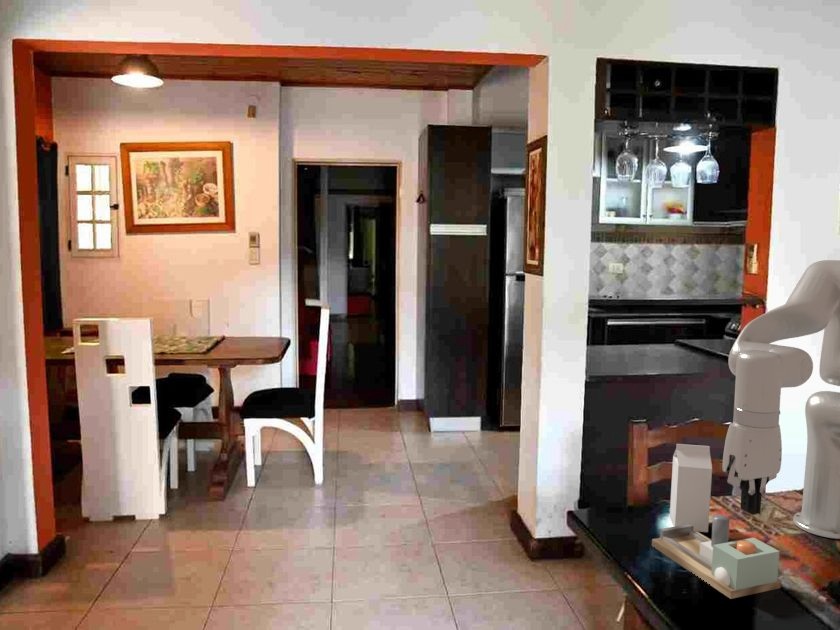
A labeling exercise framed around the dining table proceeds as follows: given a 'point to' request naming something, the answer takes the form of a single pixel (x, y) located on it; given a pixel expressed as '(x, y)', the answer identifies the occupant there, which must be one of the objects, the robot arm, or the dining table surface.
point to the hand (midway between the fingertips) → (750, 511)
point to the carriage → (715, 536)
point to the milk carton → (691, 486)
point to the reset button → (746, 547)
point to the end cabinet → (745, 565)
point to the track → (696, 557)
